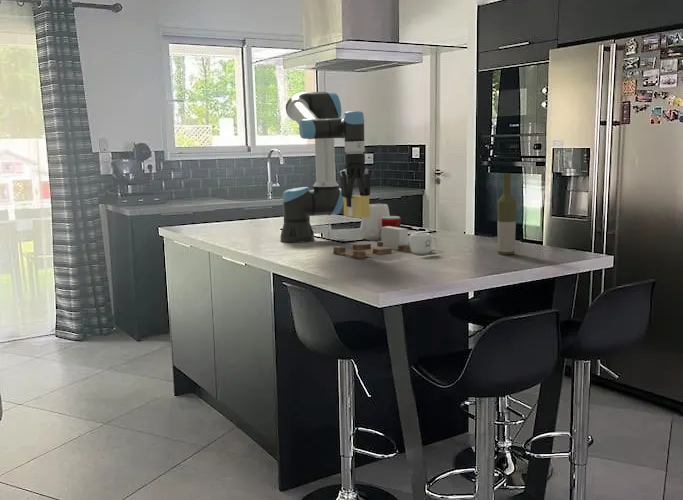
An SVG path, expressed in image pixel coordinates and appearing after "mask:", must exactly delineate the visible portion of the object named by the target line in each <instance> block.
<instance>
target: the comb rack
mask: <svg viewBox="0 0 683 500" xmlns="http://www.w3.org/2000/svg"><path fill="white" fill-rule="evenodd" d="M376 241H377V243H376V245H373V246H372V244H371V243H367V242H363V243H353V244H351V245H352V248H349V249H346V247H345V246H341V245H339V246H338V245H337V246H333V249H332V250H333V251H332V252H333V254H335V255H340V256H343V257H348V258H352V259H357V260H365V259H371V257H372V256H379V255H386V254H387V255H388V254H392V253H393V254H394V253H401V252H408V251H410V252H411V249H410V245H409V244H408V245H400V246H398V250H396V249H392V248H389V247H383V242H381V240H376ZM399 247H400V249H399Z"/></svg>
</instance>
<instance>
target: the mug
mask: <svg viewBox="0 0 683 500" xmlns="http://www.w3.org/2000/svg"><path fill="white" fill-rule="evenodd" d="M408 240H409V241H408V243H409V244H408V245H409V246H410V252H411V254H417V255H418V254H428V253H431V252H432V251H435V250H436V249H437V246H438V241H437V239H436V237H435V236H433V235H431V233H429V232H413V233H410V234H409V237H408ZM433 240H434V247H433V248H432V245H433V243H432V241H433Z"/></svg>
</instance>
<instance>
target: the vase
mask: <svg viewBox="0 0 683 500" xmlns="http://www.w3.org/2000/svg"><path fill="white" fill-rule="evenodd" d="M369 211H370V217H369V218H360V219H361V221H360V228H359V233H360V235H361V237H362V239H364V240H366V241H381V227H382V217H384V216H391V215H390V209H389V205H388V204H387V203H371V204H370V203H369Z"/></svg>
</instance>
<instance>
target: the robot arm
mask: <svg viewBox="0 0 683 500" xmlns="http://www.w3.org/2000/svg"><path fill="white" fill-rule="evenodd" d="M285 113H286V114H287V116H288V118H289V119H291V120H292V121H295V122H296V123H297V124H298V125H299V127H298V130H299V131H298V132H299V135H300V136H299V137H300V138H301V139H303V140H306V139H308V140H314V150H315V152H314V153H315V154H314V155H315V158H314V159H315V182H314V184H312V189H310V188H309V186H302V187H300V186H299V187H295V188H290V189H286V190H284V191H283V193H282V212H283V225H282V229H281V233H280V242H284V243H306V242H311V241H314V240H315V233H314V230H313V227H312V224H311V221H310V220H311V217H316V216H317V217H318V216H332V215H333V216H334V215H338V214H339V213H340V212H341V211H342V209H343V206H344V202H343V197H345V198H346V201H347V207H348V212H349V216H354V199H353V198H352V195H353V192H354V191H353V190H354V183H355V181H356V182H357V186H358V187H357V188H358V191H359V195H360V196H370V195H371V176H372V175H371V174H372V169H368V168H366V165H365V164H366V154H365V151H366V149H365V116H364V112H363V111H361V110H360V111H359V110H358V111H357V110H355V111H352V110H351V111H345V112H344V114H343V118H342V104H341V100H340V98H339V95H338V93H336V92H333V91H302V92H297V93H296V94H293V95H292V96H291V97H289V99H287V102H286V104H285ZM335 139H344V153H345V155H344V163H345V167H344V169H343V170H339V171H338V174H339V177H340V185H339V184H338V182H337V181H336V159H335V158H336V157H335V156H336V155H335V153H336V152H335Z"/></svg>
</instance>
